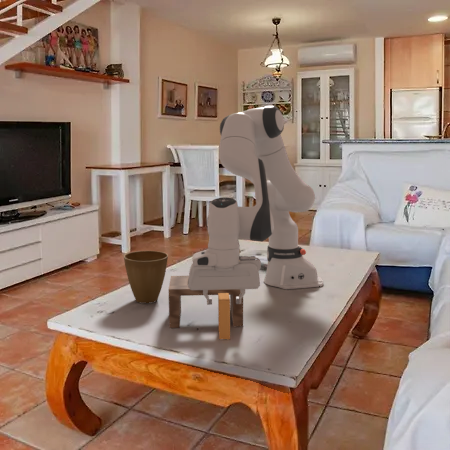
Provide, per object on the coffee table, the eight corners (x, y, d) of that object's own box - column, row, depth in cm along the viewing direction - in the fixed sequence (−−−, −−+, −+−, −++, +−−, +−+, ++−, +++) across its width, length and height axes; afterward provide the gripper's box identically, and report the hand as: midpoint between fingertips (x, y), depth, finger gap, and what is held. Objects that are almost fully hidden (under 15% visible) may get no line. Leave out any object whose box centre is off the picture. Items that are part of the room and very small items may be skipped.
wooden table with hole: (239, 310, 168) (239, 268, 165) (243, 326, 154) (243, 281, 152) (171, 311, 167) (170, 269, 164) (169, 328, 153) (168, 282, 150)
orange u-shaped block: (218, 330, 151) (218, 293, 149) (228, 330, 151) (228, 292, 149) (219, 339, 144) (219, 300, 142) (230, 339, 145) (230, 300, 143)
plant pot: (131, 310, 168) (129, 262, 166) (121, 296, 182) (119, 252, 179) (174, 303, 174) (173, 257, 171) (161, 291, 188) (160, 248, 185)
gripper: (259, 253, 147) (259, 299, 150) (187, 254, 146) (188, 300, 149) (262, 258, 141) (261, 306, 144) (187, 260, 140) (188, 308, 143)
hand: (224, 303), depth 146 cm, fingers open, 7 cm apart
